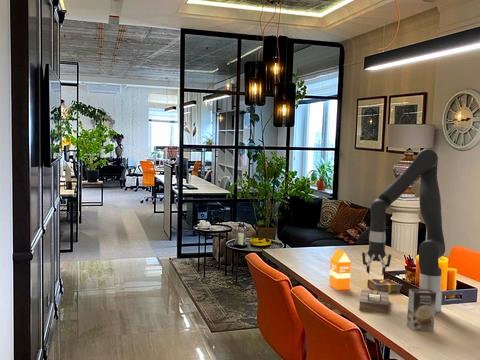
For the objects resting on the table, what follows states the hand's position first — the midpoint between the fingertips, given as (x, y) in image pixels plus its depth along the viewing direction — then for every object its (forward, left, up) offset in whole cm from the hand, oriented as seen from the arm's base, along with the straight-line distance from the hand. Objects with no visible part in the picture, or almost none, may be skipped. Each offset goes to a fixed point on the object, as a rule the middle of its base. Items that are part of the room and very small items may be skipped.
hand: (375, 274), depth 232 cm
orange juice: (+25, -6, -14) cm, 29 cm away
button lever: (-2, +3, -12) cm, 13 cm away
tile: (-4, +6, -11) cm, 13 cm away
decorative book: (+7, -22, -14) cm, 27 cm away
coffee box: (-32, +15, -14) cm, 38 cm away
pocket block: (-3, +5, -14) cm, 15 cm away
